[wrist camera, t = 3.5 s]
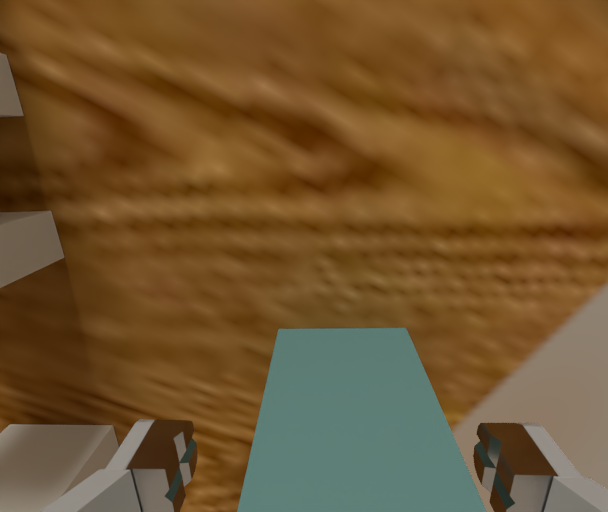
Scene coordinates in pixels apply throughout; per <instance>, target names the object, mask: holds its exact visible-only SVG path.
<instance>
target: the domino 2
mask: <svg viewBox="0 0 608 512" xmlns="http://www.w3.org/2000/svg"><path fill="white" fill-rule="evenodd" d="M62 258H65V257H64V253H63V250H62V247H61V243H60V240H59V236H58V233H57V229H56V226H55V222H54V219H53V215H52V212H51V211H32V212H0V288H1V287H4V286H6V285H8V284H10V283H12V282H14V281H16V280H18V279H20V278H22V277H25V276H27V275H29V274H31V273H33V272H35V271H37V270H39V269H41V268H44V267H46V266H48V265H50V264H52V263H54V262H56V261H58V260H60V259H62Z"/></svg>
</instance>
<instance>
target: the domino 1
mask: <svg viewBox="0 0 608 512" xmlns="http://www.w3.org/2000/svg"><path fill="white" fill-rule="evenodd" d="M16 116H24V114H23V111H22V107H21V104H20V101H19V97H18V94H17V90H16V87H15V83H14V80H13V76H12V73H11V69H10V66H9V62H8V59H7V55H6V54H2V53H0V117H16Z"/></svg>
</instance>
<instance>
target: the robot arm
mask: <svg viewBox="0 0 608 512" xmlns="http://www.w3.org/2000/svg"><path fill="white" fill-rule="evenodd" d="M193 433H194V427H193V422H192V421H186V420H159V419H157V420H148V419H140V420H138V421H137V422H136V423H135V424H134V425H133V427H132V429H131V430H130V432H129V433H128V435H127V436H126V438H125V439H124V441H123V442H122V444H121V445H120V447H119V448H118V450H117V452H116V453H115V455H114V456H113V458H112V459H111V461H110V462H109V464H108V465H107V467H106V468H105V469H99V470H98V471H97V472H95V473H94V474H92V475H91V476H89V477H88V478H87V479H85V480H84V481H82V482H81V483H80V484H78V485H77V486H75V487H74V488H72V489H71V490H70V491H68V492H67V493H65V494H64V495H63V496H61V497H60V498H58V499H57V500H55V501H54V502H53V503H51V504H50V505H48V506H47V507H46V508H44V509H43V510H41V511H40V512H180V509H181V507H182V504H183V502H184V499H185V496H186V495H185V489H184V486H185V485H187V484H188V483H189V482H190V481H191V480H192V477H193V475H194V472H195V468H196V463H197V444H196V442H195V441H194V440H193V439H192V435H193ZM477 435H478V437H479V439H480V442H479V443H478V444H476V445H475V447H474V455H473V457H474V465H475V469H476V473H477V475H478V478H479V480H480V482H481V484H482V486H484V487H485V488H486V489H487V490H488V491H489V492H491V497H490V504H491V506H492V508H493V510H494V512H608V490H607V489H606V488H604V487H603V486H601V485H600V484H598V483H597V482H595V481H593V480H592V479H590V478H589V477H582V476H581V475H580V474H579V472H578V471H577V470H576V468H575V467H574V466H573V465H572V463H571V462H570V461H569V460H568V458H567V457H566V456H565V454H564V453H563V452H562V451H561V449H560V448H559V447H558V446H557V444H556V443H555V442H554V441H553V439H552V438H551V437H550V435H549V434H548V433H547V432H546V430H545V429H544V428H543V427H542V426H541V425H540V424H538V423H480V425H479V426H478V429H477Z"/></svg>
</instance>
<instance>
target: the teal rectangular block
mask: <svg viewBox="0 0 608 512" xmlns="http://www.w3.org/2000/svg"><path fill="white" fill-rule="evenodd" d="M237 512H487V511H486V509H485V507H484V505H483V502H482V500H481V498H480V496H479V493H478V491H477V489H476V486H475V484H474V482H473V480H472V478H471V475H470V473H469V470H468V468H467V466H466V464H465V461H464V459H463V457H462V455H461V452H460V450H459V448H458V445H457V443H456V441H455V438H454V436H453V434H452V432H451V429H450V427H449V425H448V422H447V420H446V418H445V416H444V413H443V411H442V409H441V406H440V404H439V402H438V400H437V397H436V395H435V393H434V391H433V388H432V386H431V384H430V381H429V379H428V377H427V375H426V372H425V370H424V368H423V365H422V363H421V361H420V359H419V356H418V354H417V352H416V349H415V347H414V345H413V343H412V340H411V338H410V336H409V333H408V331H407V329H406V328H334V329H278V333H277V338H276V342H275V347H274V351H273V355H272V360H271V364H270V369H269V373H268V378H267V382H266V386H265V391H264V395H263V400H262V404H261V409H260V413H259V417H258V422H257V426H256V431H255V435H254V440H253V444H252V448H251V453H250V457H249V462H248V466H247V471H246V475H245V479H244V484H243V488H242V493H241V497H240V501H239V506H238V510H237Z"/></svg>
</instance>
